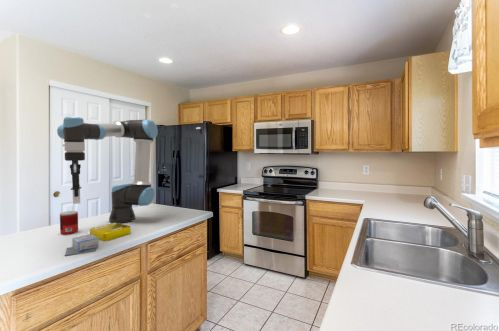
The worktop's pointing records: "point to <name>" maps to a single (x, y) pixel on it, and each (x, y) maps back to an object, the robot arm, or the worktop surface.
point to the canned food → (68, 222)
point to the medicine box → (84, 242)
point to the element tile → (110, 231)
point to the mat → (73, 252)
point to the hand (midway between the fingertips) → (76, 203)
